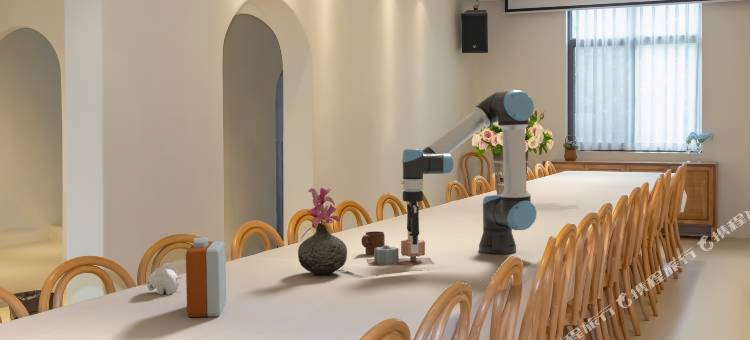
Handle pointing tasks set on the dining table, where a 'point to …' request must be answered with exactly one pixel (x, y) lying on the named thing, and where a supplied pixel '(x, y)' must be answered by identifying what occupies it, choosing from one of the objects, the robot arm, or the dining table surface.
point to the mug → (373, 241)
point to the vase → (322, 240)
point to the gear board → (403, 260)
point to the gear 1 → (386, 255)
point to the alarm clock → (205, 278)
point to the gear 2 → (407, 248)
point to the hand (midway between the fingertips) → (412, 251)
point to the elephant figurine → (164, 279)
